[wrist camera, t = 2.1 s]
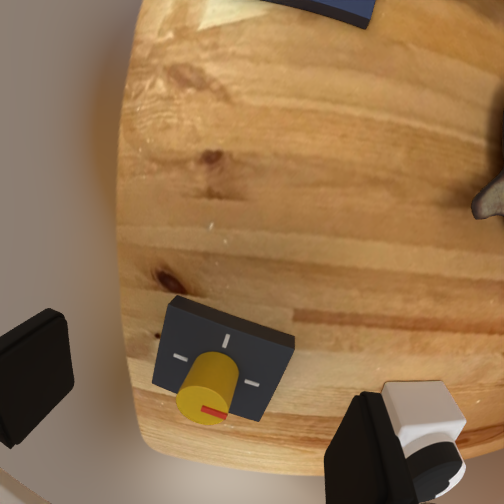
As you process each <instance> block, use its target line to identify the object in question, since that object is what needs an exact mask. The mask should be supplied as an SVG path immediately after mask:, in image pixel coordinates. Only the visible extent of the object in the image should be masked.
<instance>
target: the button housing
mask: <svg viewBox="0 0 504 504" xmlns="http://www.w3.org/2000/svg"><path fill="white" fill-rule="evenodd" d="M263 1H268V2H273V3H278V4H282V5H287V6H291V7H295V8H299V9H303V10H307V11H311V12H314V13H318V14H321V15H324V16H328V17H331V18H334V19H337V20H340V21H343V22H346V23H349V24H352V25H355V26H357V27H360V28H363V29H366V28H367V26H368V24H369V22H370V20H371V16H372V12H373V8H374V4H375V0H263Z"/></svg>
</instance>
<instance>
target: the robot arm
mask: <svg viewBox="0 0 504 504" xmlns="http://www.w3.org/2000/svg"><path fill="white" fill-rule="evenodd" d="M73 386H74V375H73V368H72V362H71V354H70V345H69V337H68V326H67V321H66V320H65V317H64V315H63V314H62V313H60V312H58V311H55V310H53V309H51V308H47V309H45V310H43V311H42V312H40V313H38V314H37V315H35V316H33V317H32V318H30V319H28V320H27V321H25V322H24V323H22V324H20V325H18V326H17V327H15V328H14V329H12V330H10V331H9V332H7V333H6V334H4V335H2V336H1V337H0V442H2V443H3V444H4V445H5V446H7V447H8V448H9V449H11V448H12V447H13V446H14V445H15V444H16V445H18V444H20V443H21V442H22V441H23V440H24V439H25V438H26V437H27V435H28V434H29V433H30V432H31V431H32V430H33V429H34V428H35V427H36V426H37V425H38V424H39V423H40V422H41V421H42V420H43V419H44V418H45V417H46V415H47V414H49V413H50V411H51V410H52V409H53V408H54V407H55V406H56V405H57V404H58V403H59V402H60V401H61V400H62V399H63V398H64V397H65V396H66V395H67V394H68V393H69V392H70V391H71V390H72V388H73ZM324 473H325V494H326V504H419V502H418V499H417V495H416V491H415V488H414V484H413V481H412V478H411V474H410V471H409V468H408V464H407V461H406V458H405V455H404V452H403V449H402V446H401V443H400V440H399V438H398V436H396V435H395V432H394V429H393V426H392V423H391V420H390V417H389V414H388V411H387V408H386V405H385V402H384V400H383V397H382V395H381V394H380V393H375V392H365V391H363V392H361V393H360V395H355V396H354V398H353V399H352V401H351V404H350V406H349V408H348V410H347V412H346V414H345V416H344V418H343V420H342V422H341V424H340V426H339V428H338V430H337V431H336V433H335V435H334V437H333V439H332V441H331V443H330V445H329V446H328V448H327V450H326V452H325V456H324ZM0 504H51V503H50V502H48V501H46V500H45V499H43V498H42V497H40V496H38V495H37V494H36V493H34V492H33V491H31V490H30V489H28V488H27V487H26V486H24V485H23V484H21V483H20V482H19V481H17V480H16V479H14V478H13V477H12V476H11V475H9V474H8V473H7V472H5V471H4V470H3V469H2V468H0ZM421 504H435V503H426V502H425V503H421Z"/></svg>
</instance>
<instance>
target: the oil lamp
mask: <svg viewBox="0 0 504 504" xmlns="http://www.w3.org/2000/svg"><path fill="white" fill-rule="evenodd" d="M502 148H503V158H504V113H503V123H502ZM471 209H472V214H473V216H474V218H475V219H476V220H478V219H486V218H488V217H490V216H495V215H499V216H504V166H503V169H502V171H501V172H500V173H499V174H498V175H497V176H496V177H495V178H494V179H493V180H492V181H491V182H490V183H488V184H487V185H486V186H485V187H484V188H483V189H482V190H481V191H480V192H479V193H478V194H477V195H476V196H475V197H474V199H473V201H472V204H471Z"/></svg>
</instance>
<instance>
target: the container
mask: <svg viewBox="0 0 504 504" xmlns="http://www.w3.org/2000/svg"><path fill="white" fill-rule="evenodd" d="M381 395H382V397H383V400H384V402H385V405H386V408H387V411H388V414H389V417H390V420H391V423H392V426H393V429H394V432H395V435H396V436H398V438H399V440H400V443H401V446H402V449H403V452H404V455H405V458H406V461H407V464H408V468H409V471H410V474H411V478H412V481H413V484H414V488H415V491H416V495H417V499H418V502H419V503H420V502H425V501H429V500H432V499H435V498H437V497H439V496H441V495H443V494H444V493H446V492H447V491H449V490H450V489H451V488H453V487H454V486H455V485H456V484H457V483H458V482H459V481H460V480H461V478H462V477H463V475H464V472H465V469H466V465H465V463H464V461H463V459H462V456H461V454H460V452H459V450H458V448H457V446H456V444H455V440H456V439H457V437H458V435H459V434H460V432H461V430H462V429H463V427H464V425H465V424H466V419H465V417H464V415H463V414H462V412H461V410H460V409H459V407H458V405H457V404H456V402H455V400H454V399H453V397H452V396H451V394H450V392H449V391H448V389H447V388H446V386H445V384H444V383H443V382H442V381H422V382H386V383H385V385H384V388H383V390H382V393H381Z"/></svg>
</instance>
